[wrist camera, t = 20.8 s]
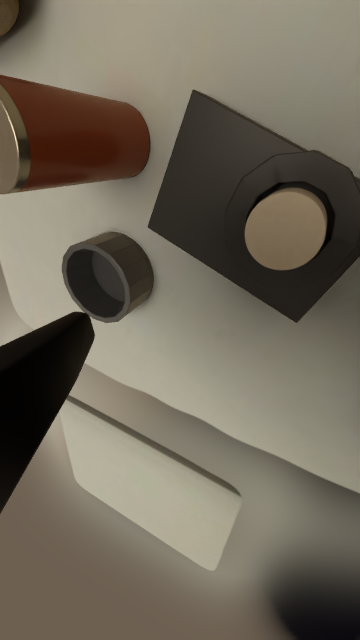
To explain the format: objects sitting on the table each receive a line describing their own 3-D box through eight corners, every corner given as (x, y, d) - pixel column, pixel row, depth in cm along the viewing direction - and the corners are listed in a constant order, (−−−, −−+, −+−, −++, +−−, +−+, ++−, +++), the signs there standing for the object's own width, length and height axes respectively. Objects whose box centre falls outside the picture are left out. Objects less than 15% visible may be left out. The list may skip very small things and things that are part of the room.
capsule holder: (164, 260, 22) (140, 275, 20) (140, 317, 27) (118, 336, 24) (98, 216, 23) (66, 225, 20) (85, 279, 27) (58, 293, 25)
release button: (345, 211, 13) (345, 218, 11) (295, 272, 15) (291, 284, 14) (278, 173, 13) (271, 175, 12) (240, 238, 16) (231, 246, 14)
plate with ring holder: (403, 196, 14) (419, 207, 11) (299, 310, 19) (293, 336, 17) (207, 89, 16) (180, 76, 13) (160, 221, 21) (134, 232, 18)
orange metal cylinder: (162, 140, 18) (31, 133, 10) (128, 191, 21) (5, 215, 13) (116, 84, 18) (-55, 32, 10) (88, 143, 20) (-63, 140, 13)
